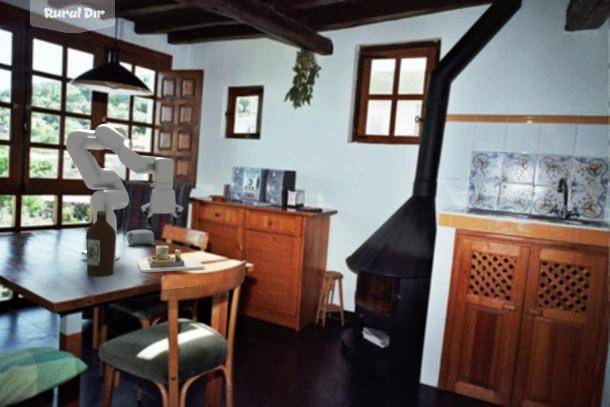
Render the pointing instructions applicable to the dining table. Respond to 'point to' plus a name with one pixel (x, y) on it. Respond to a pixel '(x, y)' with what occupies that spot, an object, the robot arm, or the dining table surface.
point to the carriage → (170, 262)
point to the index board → (188, 265)
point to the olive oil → (100, 247)
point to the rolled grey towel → (140, 237)
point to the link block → (162, 252)
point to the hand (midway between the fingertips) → (161, 226)
